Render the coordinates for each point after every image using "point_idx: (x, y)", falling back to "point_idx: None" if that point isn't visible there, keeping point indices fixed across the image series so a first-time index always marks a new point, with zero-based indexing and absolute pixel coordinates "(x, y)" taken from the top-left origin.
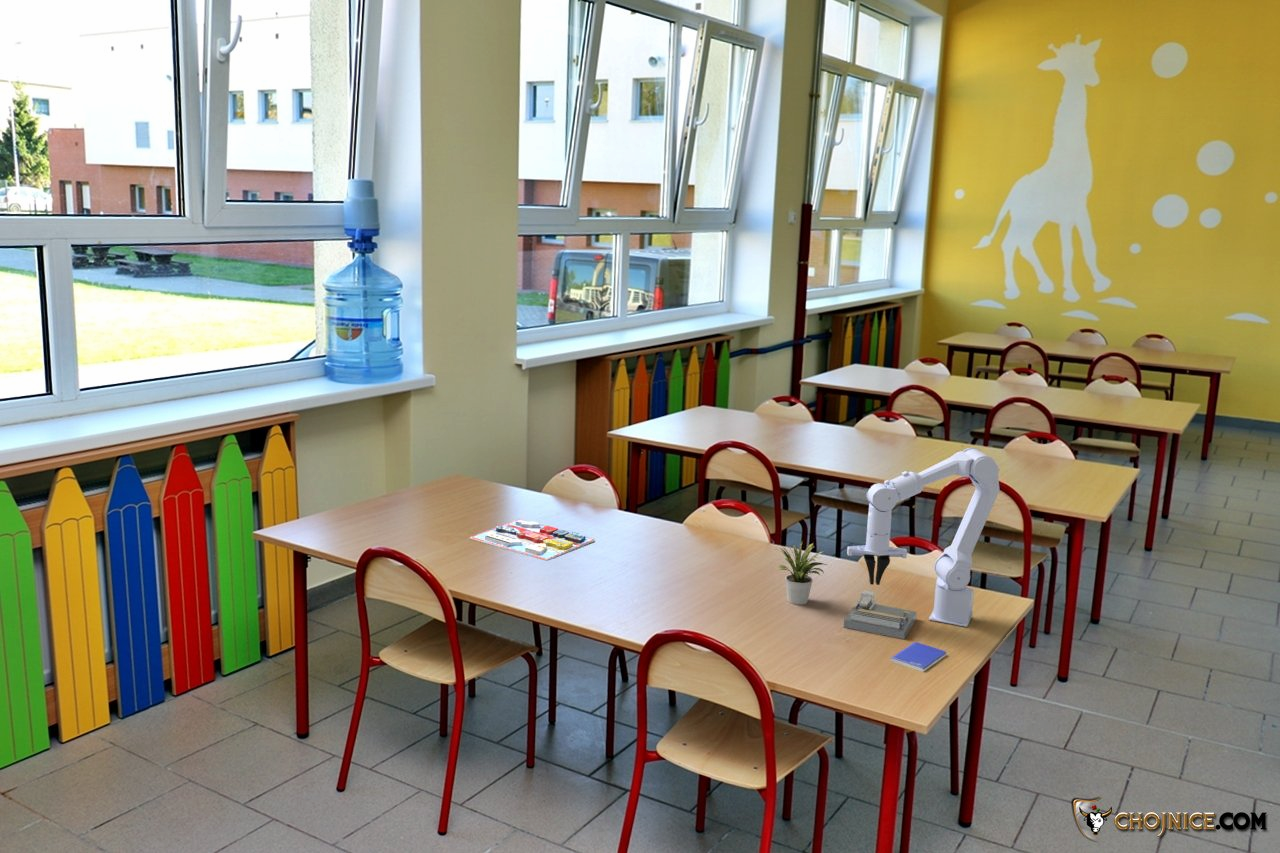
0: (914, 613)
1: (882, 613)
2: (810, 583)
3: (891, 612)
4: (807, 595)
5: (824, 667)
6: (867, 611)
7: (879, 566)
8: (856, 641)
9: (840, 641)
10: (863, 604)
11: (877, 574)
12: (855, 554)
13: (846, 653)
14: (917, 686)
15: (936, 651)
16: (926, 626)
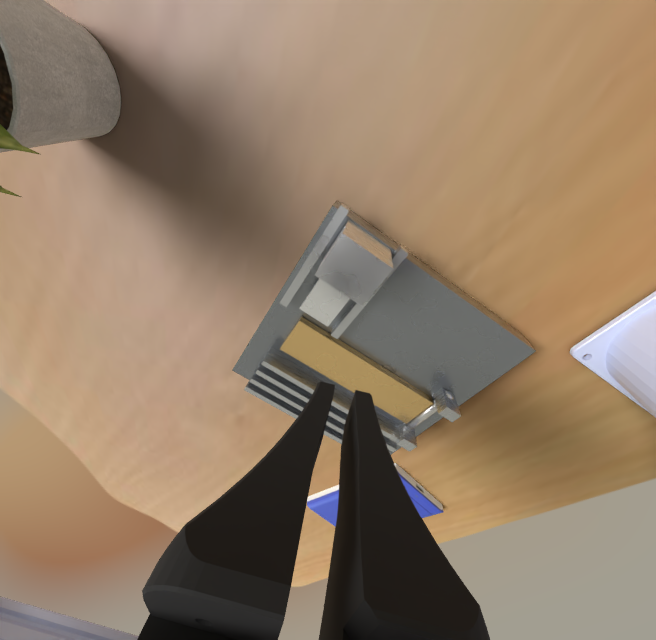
0: (513, 362)
1: (370, 369)
2: (27, 123)
3: (423, 342)
4: (86, 124)
5: (183, 486)
6: (320, 348)
7: (330, 578)
8: (261, 425)
9: (223, 418)
10: (315, 316)
11: (347, 464)
12: (38, 627)
13: (228, 460)
14: (321, 550)
15: (419, 509)
16: (514, 385)
